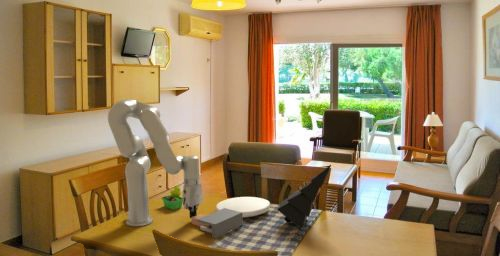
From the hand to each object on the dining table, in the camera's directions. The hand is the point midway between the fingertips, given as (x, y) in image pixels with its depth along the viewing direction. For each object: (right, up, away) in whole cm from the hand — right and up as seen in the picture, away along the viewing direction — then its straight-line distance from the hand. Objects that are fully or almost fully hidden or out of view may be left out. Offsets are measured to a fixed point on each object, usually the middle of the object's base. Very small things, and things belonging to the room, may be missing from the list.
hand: (193, 218), depth 207 cm
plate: (+24, 0, +13) cm, 27 cm away
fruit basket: (-14, +1, +23) cm, 27 cm away
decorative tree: (+54, -2, -6) cm, 54 cm away
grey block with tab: (+13, -3, -10) cm, 17 cm away
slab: (+6, -3, -4) cm, 8 cm away
